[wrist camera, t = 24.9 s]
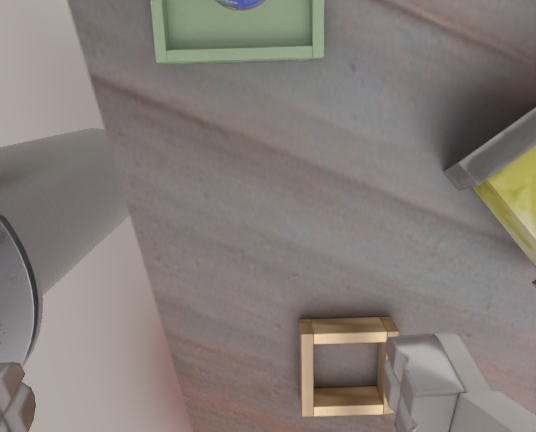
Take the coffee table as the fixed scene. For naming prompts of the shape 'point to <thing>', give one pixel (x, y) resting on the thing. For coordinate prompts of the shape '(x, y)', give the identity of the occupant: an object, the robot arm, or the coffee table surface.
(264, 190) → the coffee table surface
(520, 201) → the lantern
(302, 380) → the frame
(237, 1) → the pill bottle
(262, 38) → the tray
